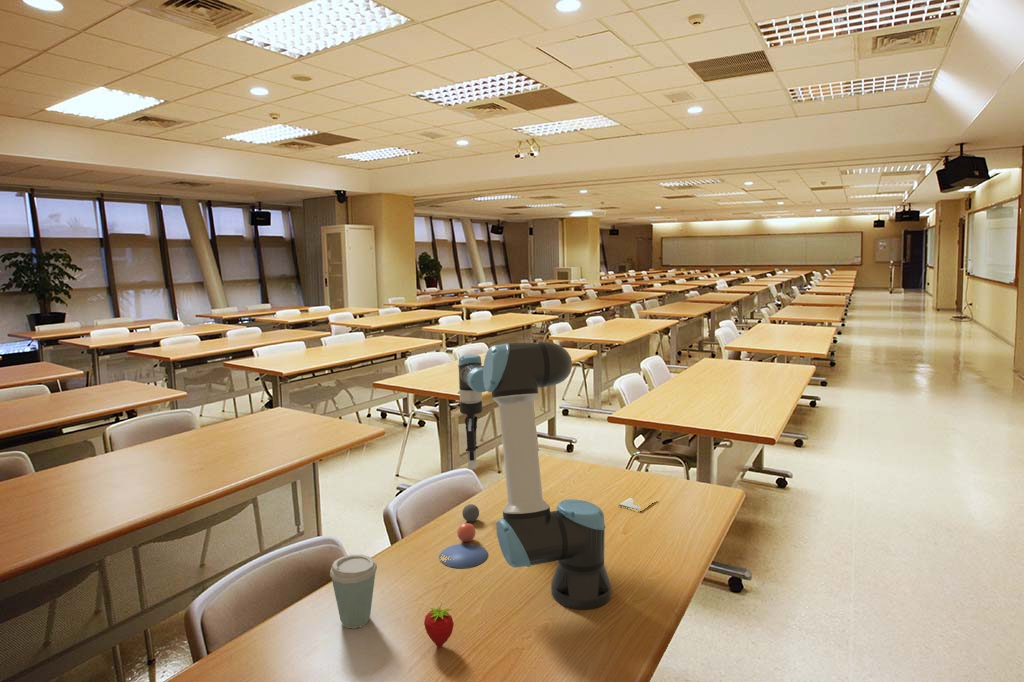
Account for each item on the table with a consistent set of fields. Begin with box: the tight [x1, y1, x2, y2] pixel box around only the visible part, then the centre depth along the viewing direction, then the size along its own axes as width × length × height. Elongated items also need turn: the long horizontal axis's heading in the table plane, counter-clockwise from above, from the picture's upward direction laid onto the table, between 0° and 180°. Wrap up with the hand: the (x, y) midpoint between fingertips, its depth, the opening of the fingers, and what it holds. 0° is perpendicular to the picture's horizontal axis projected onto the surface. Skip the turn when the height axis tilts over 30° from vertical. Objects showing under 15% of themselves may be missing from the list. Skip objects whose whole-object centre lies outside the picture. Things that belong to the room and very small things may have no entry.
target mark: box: [438, 543, 489, 569], centre depth 167 cm, size 14×14×1 cm
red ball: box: [457, 522, 476, 543], centre depth 176 cm, size 6×6×6 cm
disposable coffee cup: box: [329, 554, 378, 629], centre depth 136 cm, size 11×11×15 cm
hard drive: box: [618, 497, 641, 510], centre depth 201 cm, size 2×8×12 cm
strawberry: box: [423, 602, 455, 648], centre depth 127 cm, size 6×8×10 cm
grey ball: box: [462, 503, 480, 523], centre depth 189 cm, size 6×6×6 cm
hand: (472, 468), depth 198 cm, fingers closed
